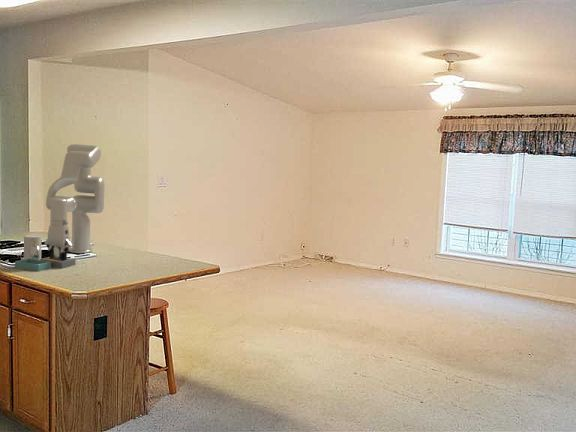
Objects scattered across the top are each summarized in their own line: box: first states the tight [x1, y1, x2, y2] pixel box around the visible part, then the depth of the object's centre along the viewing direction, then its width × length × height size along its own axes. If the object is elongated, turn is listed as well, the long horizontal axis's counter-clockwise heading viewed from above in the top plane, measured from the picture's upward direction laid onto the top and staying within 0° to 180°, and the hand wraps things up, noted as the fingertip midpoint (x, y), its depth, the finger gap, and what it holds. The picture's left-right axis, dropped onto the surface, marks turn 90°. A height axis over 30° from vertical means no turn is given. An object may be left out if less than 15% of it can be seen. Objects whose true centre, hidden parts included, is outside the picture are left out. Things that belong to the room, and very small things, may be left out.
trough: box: [14, 258, 52, 272], centre depth 266 cm, size 9×14×3 cm, turn 73°
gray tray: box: [40, 256, 77, 269], centre depth 275 cm, size 10×13×3 cm
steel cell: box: [54, 246, 62, 261], centre depth 274 cm, size 4×4×9 cm
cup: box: [23, 234, 42, 260], centre depth 284 cm, size 8×8×12 cm
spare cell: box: [31, 245, 40, 260], centre depth 276 cm, size 4×4×9 cm
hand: (57, 258), depth 275 cm, fingers open, 6 cm apart
